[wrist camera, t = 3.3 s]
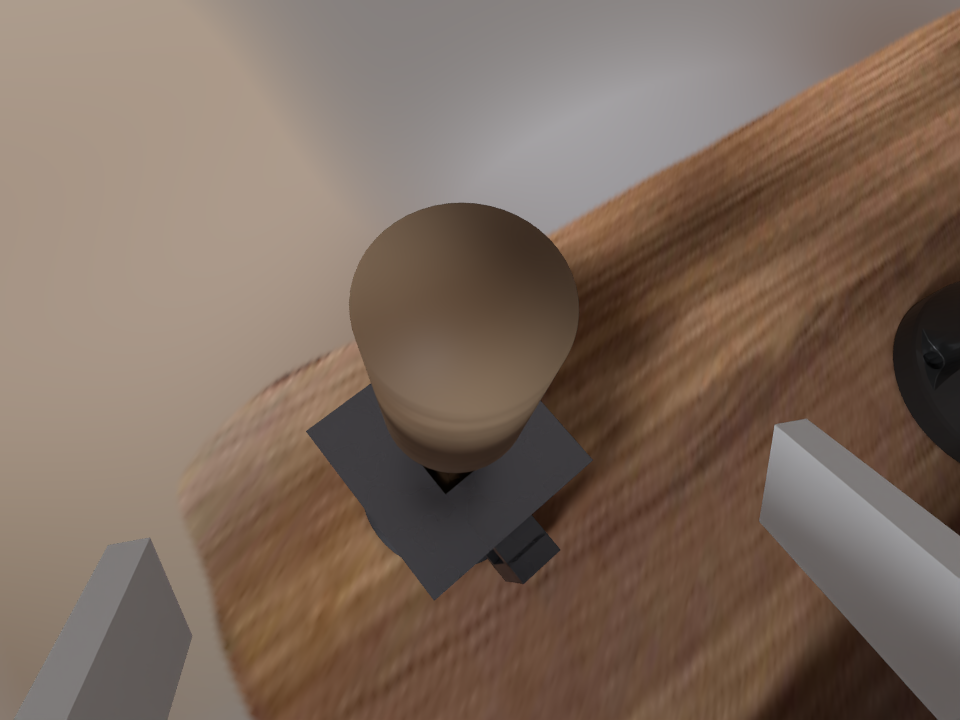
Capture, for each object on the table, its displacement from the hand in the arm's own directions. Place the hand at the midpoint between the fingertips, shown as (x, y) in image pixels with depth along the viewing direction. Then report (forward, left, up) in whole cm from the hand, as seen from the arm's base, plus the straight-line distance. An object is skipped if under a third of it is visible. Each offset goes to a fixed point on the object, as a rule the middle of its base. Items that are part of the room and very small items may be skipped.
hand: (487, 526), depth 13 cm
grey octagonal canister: (+4, -3, -27) cm, 27 cm away
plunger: (+4, -3, -15) cm, 15 cm away
